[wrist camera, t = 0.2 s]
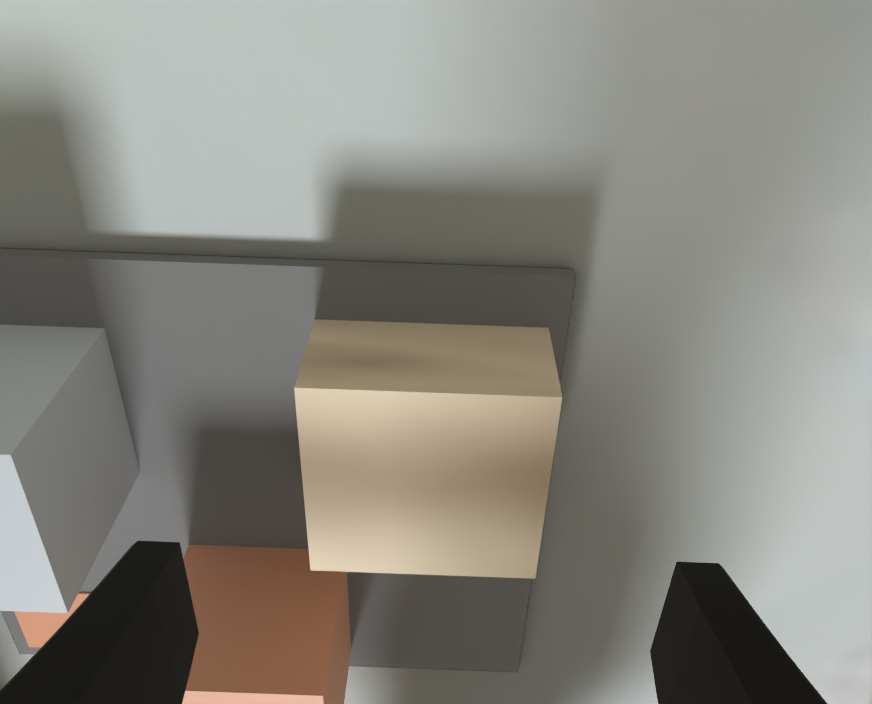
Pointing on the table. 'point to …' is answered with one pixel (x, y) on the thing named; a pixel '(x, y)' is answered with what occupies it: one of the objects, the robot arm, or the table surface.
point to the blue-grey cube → (58, 461)
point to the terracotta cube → (266, 627)
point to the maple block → (426, 446)
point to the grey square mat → (270, 415)
